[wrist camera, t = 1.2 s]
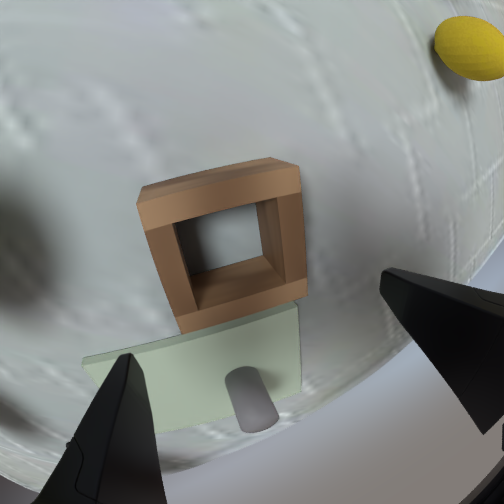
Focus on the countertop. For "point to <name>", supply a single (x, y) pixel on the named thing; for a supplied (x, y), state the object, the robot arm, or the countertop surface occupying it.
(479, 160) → the countertop surface
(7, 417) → the countertop surface
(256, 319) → the keeper board
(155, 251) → the link
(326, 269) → the countertop surface
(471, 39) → the lemon
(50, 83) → the countertop surface
